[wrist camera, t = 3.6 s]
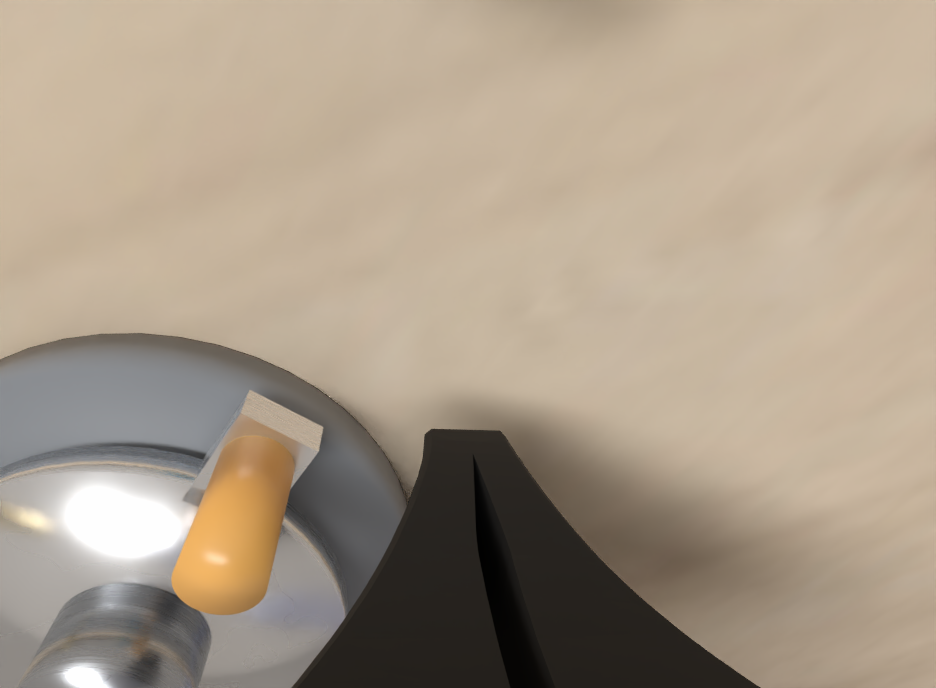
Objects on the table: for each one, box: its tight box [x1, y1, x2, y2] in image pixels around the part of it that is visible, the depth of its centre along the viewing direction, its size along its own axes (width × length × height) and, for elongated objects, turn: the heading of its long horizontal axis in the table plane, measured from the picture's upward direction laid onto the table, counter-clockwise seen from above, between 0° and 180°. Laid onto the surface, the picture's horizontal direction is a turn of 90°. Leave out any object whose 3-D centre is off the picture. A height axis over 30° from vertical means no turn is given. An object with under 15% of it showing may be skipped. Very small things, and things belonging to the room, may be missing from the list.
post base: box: [0, 333, 407, 614], centre depth 15 cm, size 12×12×4 cm
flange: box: [0, 390, 348, 688], centre depth 13 cm, size 11×9×4 cm
